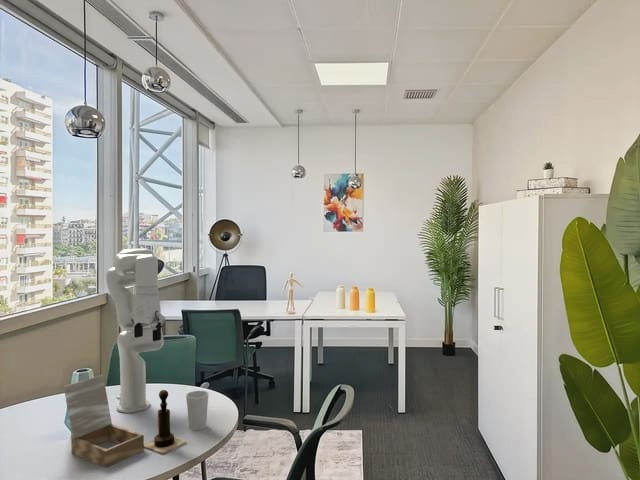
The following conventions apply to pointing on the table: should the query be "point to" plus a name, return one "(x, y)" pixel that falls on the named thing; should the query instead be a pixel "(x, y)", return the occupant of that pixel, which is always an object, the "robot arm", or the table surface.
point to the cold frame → (97, 424)
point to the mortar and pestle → (163, 424)
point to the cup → (197, 409)
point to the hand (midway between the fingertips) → (147, 338)
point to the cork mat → (164, 450)
